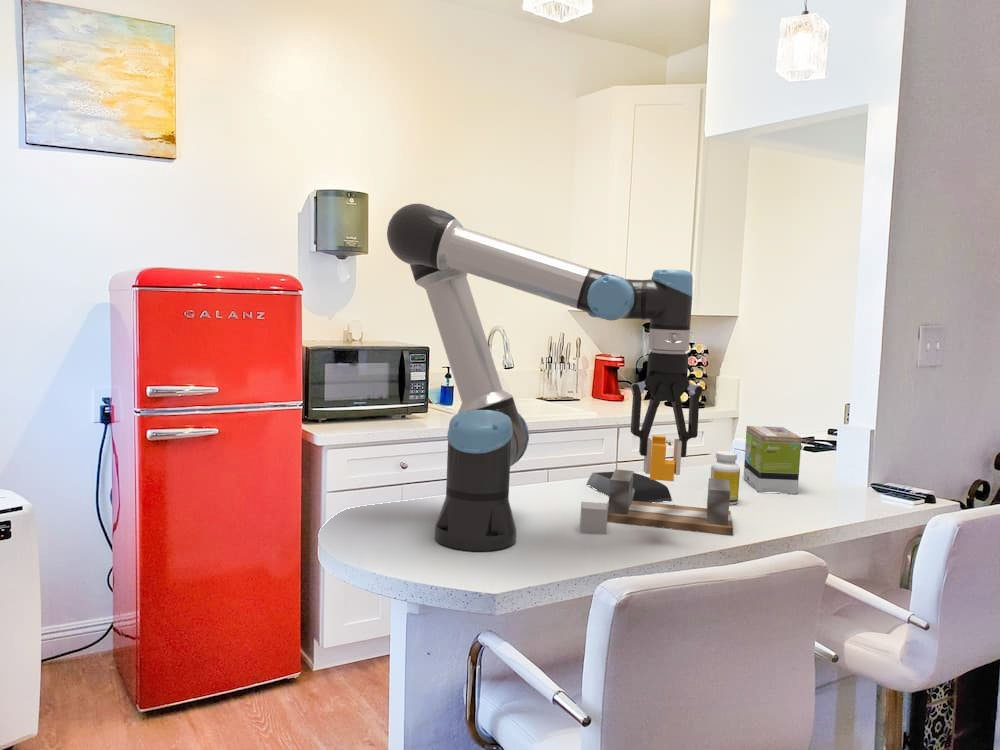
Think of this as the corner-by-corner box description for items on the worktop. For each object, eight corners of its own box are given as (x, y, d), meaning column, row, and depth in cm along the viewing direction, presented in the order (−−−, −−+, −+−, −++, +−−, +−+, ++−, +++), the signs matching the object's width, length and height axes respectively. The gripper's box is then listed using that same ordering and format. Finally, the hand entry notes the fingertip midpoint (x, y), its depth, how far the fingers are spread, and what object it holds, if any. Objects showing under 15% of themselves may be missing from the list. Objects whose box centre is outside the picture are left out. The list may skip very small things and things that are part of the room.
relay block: (580, 533, 155) (582, 508, 155) (579, 525, 160) (581, 501, 160) (606, 534, 155) (607, 509, 155) (604, 527, 160) (606, 503, 159)
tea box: (741, 479, 211) (745, 424, 210) (779, 481, 211) (784, 426, 210) (757, 493, 196) (762, 434, 195) (798, 495, 196) (803, 436, 195)
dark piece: (627, 507, 179) (628, 489, 178) (583, 486, 196) (584, 470, 196) (674, 503, 184) (676, 485, 184) (627, 484, 202) (628, 468, 201)
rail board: (602, 521, 164) (604, 480, 163) (609, 504, 178) (611, 467, 177) (732, 535, 158) (735, 493, 157) (729, 517, 172) (732, 479, 171)
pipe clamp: (673, 481, 147) (675, 447, 146) (649, 479, 148) (651, 445, 147) (672, 468, 159) (674, 436, 158) (650, 466, 160) (652, 435, 159)
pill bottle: (739, 506, 182) (743, 456, 180) (710, 504, 183) (714, 454, 181) (735, 499, 188) (739, 451, 187) (707, 497, 189) (711, 449, 188)
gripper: (624, 351, 146) (617, 475, 148) (721, 355, 147) (713, 478, 149) (617, 349, 154) (611, 467, 156) (710, 352, 154) (702, 470, 156)
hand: (661, 472), depth 152 cm, fingers closed on pipe clamp, 5 cm apart
